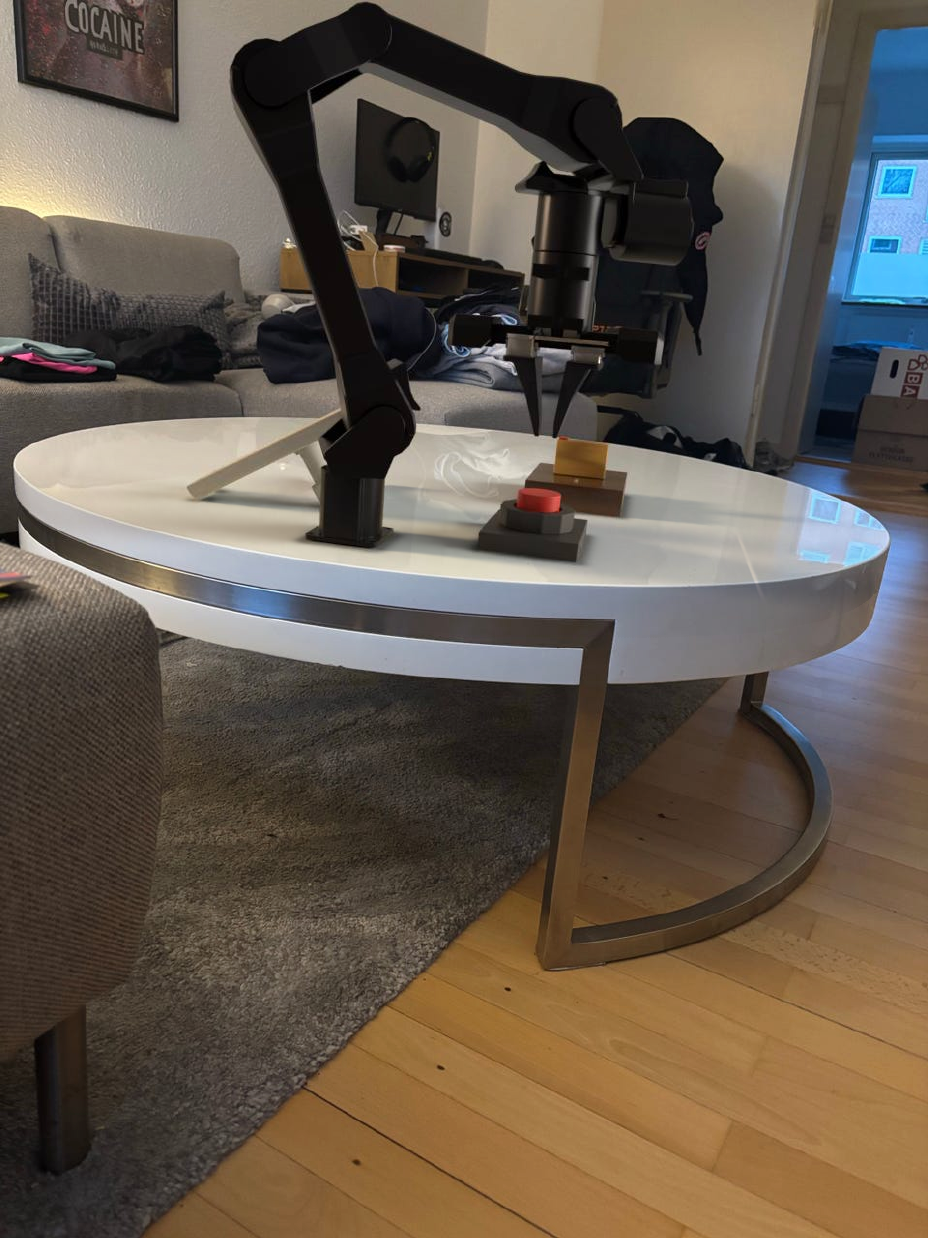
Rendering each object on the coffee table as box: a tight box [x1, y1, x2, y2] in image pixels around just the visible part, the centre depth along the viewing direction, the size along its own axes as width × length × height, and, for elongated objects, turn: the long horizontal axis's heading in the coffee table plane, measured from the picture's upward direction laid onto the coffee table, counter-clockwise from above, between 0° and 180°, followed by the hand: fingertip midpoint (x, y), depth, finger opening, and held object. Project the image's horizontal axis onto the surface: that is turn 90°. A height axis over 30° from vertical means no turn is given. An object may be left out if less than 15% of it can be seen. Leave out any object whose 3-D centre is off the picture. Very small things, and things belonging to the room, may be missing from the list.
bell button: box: [516, 488, 561, 512], centre depth 86 cm, size 4×4×2 cm
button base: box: [476, 498, 588, 563], centre depth 87 cm, size 11×9×4 cm
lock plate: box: [523, 462, 628, 518], centre depth 109 cm, size 14×11×3 cm
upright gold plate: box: [553, 435, 610, 479], centre depth 108 cm, size 6×2×4 cm, turn 78°
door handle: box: [186, 407, 342, 503], centre depth 99 cm, size 18×8×20 cm
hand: (545, 436), depth 84 cm, fingers closed
